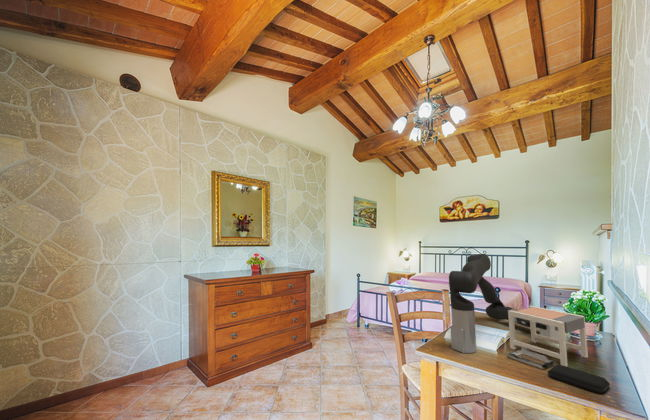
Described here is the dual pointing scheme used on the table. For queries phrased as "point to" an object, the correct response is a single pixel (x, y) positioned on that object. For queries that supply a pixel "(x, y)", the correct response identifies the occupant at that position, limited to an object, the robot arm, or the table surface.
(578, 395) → the table surface
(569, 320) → the trapdoor
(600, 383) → the carrying case or bag
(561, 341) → the trapdoor stand
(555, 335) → the plain beige rectangular block
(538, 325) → the robot arm
